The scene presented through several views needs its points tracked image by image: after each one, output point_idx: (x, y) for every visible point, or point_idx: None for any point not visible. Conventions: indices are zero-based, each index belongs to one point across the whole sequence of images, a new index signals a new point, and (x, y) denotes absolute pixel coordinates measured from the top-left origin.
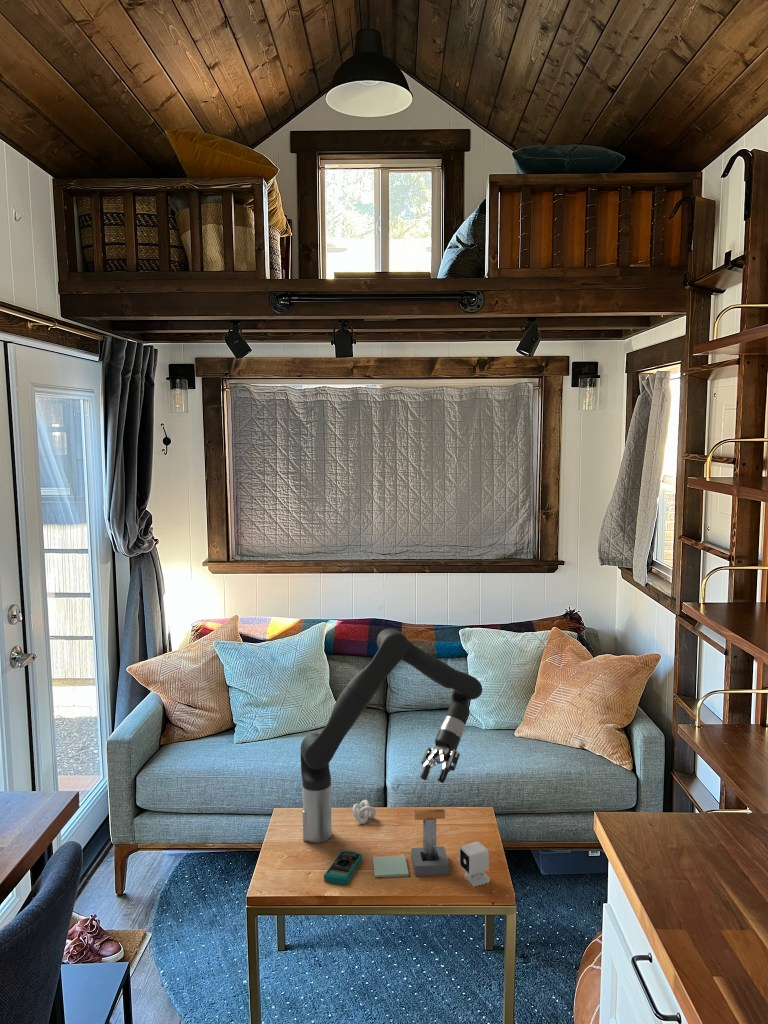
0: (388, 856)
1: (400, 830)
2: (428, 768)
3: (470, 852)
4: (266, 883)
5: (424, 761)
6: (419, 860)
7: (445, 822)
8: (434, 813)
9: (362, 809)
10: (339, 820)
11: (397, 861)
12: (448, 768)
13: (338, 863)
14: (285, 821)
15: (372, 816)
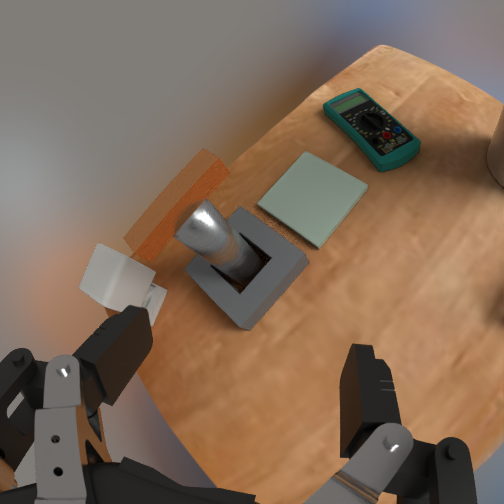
0: (344, 213)
1: (435, 342)
2: (352, 451)
3: (98, 250)
4: (402, 56)
5: (430, 477)
6: (247, 228)
7: None
8: (151, 206)
9: None
10: None
11: (311, 215)
12: (41, 363)
13: (379, 116)
14: None
15: None
